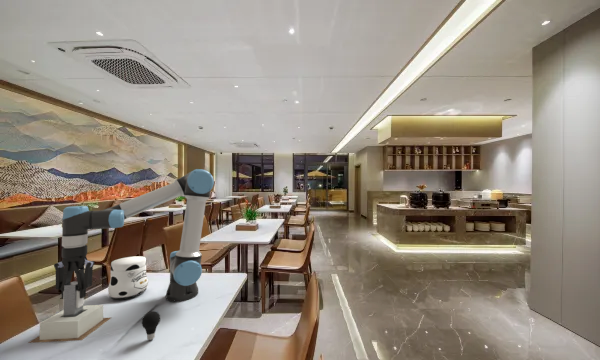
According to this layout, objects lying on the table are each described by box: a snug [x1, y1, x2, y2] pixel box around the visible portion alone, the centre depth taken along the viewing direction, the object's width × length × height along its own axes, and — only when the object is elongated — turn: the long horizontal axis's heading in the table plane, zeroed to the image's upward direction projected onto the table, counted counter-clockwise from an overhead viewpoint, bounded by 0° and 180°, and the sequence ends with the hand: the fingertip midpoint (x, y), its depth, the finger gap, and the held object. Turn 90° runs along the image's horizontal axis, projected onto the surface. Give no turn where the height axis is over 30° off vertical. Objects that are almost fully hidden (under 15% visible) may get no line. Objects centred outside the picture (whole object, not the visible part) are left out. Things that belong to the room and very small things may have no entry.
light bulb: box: [141, 310, 161, 341], centre depth 92 cm, size 6×6×10 cm
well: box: [39, 304, 104, 340], centre depth 98 cm, size 13×13×6 cm
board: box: [27, 317, 113, 344], centre depth 98 cm, size 18×16×1 cm
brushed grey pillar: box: [63, 281, 84, 317], centre depth 98 cm, size 4×4×12 cm
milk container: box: [107, 255, 149, 300], centre depth 133 cm, size 17×17×18 cm
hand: (73, 306), depth 98 cm, fingers closed on brushed grey pillar, 4 cm apart
